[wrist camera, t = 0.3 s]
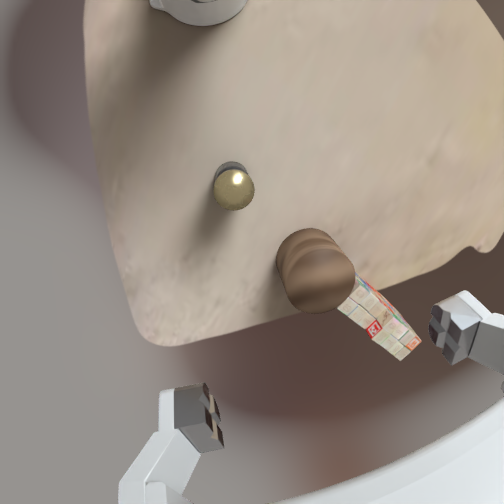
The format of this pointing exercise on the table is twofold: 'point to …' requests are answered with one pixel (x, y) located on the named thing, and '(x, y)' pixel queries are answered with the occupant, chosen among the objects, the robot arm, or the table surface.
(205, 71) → the table surface
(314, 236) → the brown wooden cylinder
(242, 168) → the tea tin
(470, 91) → the table surface
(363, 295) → the stack of blocks
